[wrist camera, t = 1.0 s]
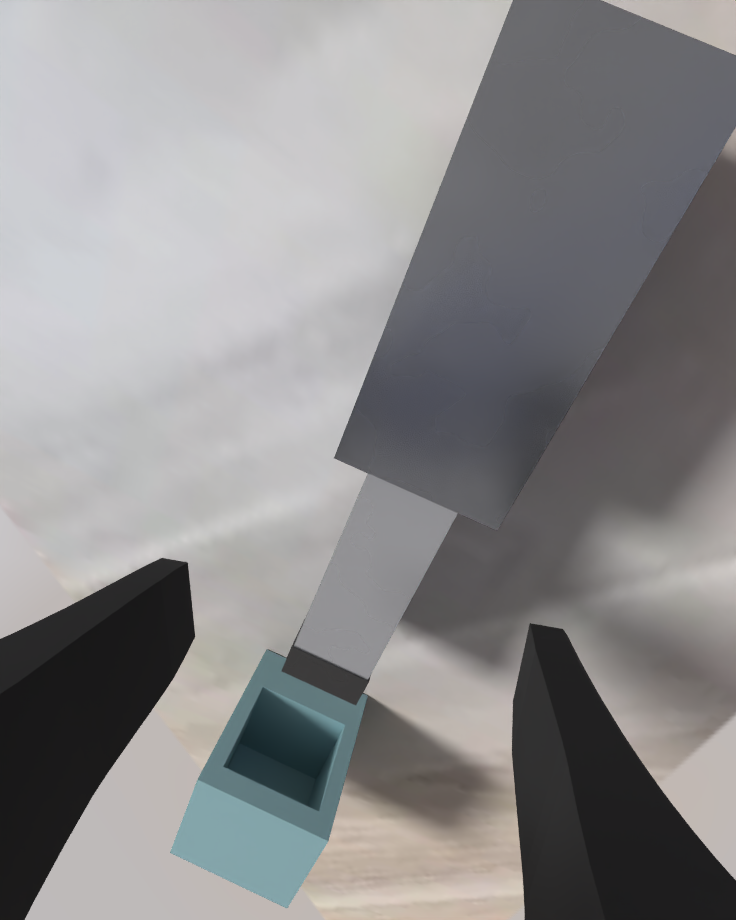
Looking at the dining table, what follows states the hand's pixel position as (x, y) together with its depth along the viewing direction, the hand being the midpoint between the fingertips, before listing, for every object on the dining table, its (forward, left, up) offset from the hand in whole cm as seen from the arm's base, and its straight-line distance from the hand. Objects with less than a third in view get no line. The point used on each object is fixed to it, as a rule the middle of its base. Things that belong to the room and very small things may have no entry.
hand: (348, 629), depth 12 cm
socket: (0, +14, -9) cm, 17 cm away
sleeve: (0, -7, -9) cm, 12 cm away
